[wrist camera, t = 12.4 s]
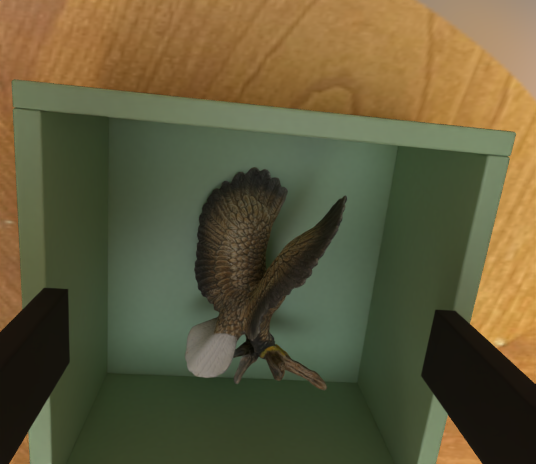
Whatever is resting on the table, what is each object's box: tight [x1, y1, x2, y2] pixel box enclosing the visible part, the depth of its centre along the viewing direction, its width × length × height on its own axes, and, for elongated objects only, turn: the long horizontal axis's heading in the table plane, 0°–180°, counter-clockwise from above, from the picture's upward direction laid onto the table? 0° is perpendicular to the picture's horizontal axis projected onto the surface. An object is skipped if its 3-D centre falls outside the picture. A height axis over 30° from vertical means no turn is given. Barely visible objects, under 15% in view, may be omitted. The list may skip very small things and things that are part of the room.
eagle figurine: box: [185, 167, 347, 390], centre depth 21 cm, size 8×7×9 cm
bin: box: [12, 79, 516, 464], centre depth 20 cm, size 16×16×9 cm
